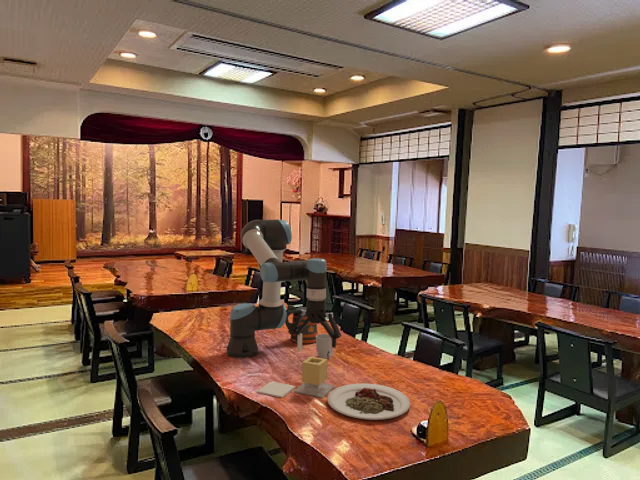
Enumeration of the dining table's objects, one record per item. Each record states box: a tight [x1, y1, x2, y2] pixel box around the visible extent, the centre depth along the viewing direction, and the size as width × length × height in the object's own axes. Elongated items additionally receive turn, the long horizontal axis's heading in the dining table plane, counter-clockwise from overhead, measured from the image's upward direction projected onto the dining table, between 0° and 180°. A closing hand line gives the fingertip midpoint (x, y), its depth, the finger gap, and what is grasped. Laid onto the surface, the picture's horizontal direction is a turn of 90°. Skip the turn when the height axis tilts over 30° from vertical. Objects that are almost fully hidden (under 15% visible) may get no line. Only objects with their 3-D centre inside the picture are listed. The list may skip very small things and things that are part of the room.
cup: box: [315, 333, 331, 359], centre depth 222 cm, size 8×8×10 cm
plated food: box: [326, 383, 411, 421], centre depth 172 cm, size 30×30×3 cm
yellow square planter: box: [301, 356, 329, 386], centre depth 184 cm, size 7×7×8 cm
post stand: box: [293, 362, 335, 399], centre depth 184 cm, size 12×12×11 cm
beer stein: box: [284, 304, 319, 345], centre depth 247 cm, size 19×15×20 cm
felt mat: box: [256, 380, 297, 399], centre depth 183 cm, size 11×11×1 cm
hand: (315, 353), depth 183 cm, fingers open, 13 cm apart
